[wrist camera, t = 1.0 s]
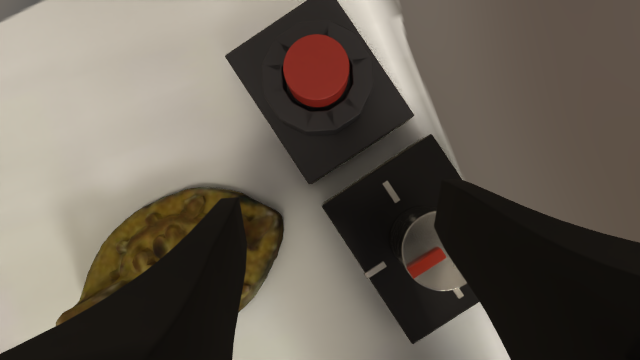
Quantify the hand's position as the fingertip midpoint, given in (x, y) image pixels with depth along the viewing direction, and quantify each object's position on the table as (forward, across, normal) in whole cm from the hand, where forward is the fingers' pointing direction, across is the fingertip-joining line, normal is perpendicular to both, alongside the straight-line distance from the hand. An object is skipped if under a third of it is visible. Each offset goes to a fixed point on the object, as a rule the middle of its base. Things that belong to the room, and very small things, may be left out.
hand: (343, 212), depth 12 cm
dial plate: (+7, -6, +7) cm, 12 cm away
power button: (+10, 0, -3) cm, 11 cm away
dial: (+5, -6, +6) cm, 10 cm away
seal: (+9, +9, +9) cm, 16 cm away
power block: (+13, -1, -1) cm, 13 cm away
